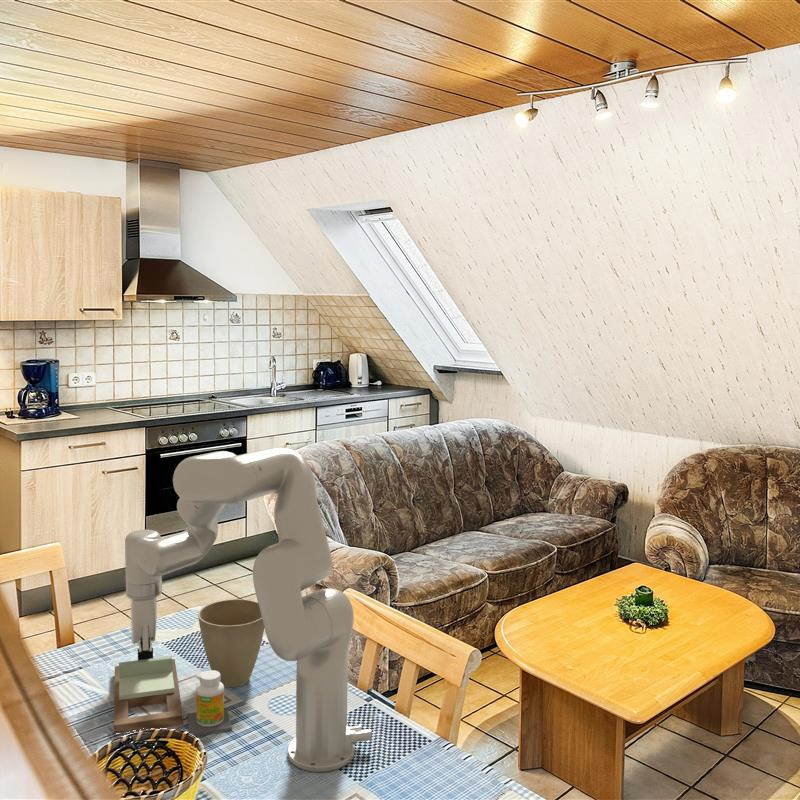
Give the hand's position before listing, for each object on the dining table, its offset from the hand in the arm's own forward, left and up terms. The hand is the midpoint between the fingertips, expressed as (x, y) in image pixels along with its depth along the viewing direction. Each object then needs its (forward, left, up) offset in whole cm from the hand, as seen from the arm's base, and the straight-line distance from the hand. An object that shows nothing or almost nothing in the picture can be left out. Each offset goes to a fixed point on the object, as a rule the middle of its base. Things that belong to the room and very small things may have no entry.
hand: (145, 666), depth 175 cm
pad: (-12, +22, -3) cm, 25 cm away
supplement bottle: (-12, +22, -3) cm, 25 cm away
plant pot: (-19, +5, -4) cm, 19 cm away
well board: (0, +8, -3) cm, 9 cm away
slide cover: (0, +7, -1) cm, 7 cm away
